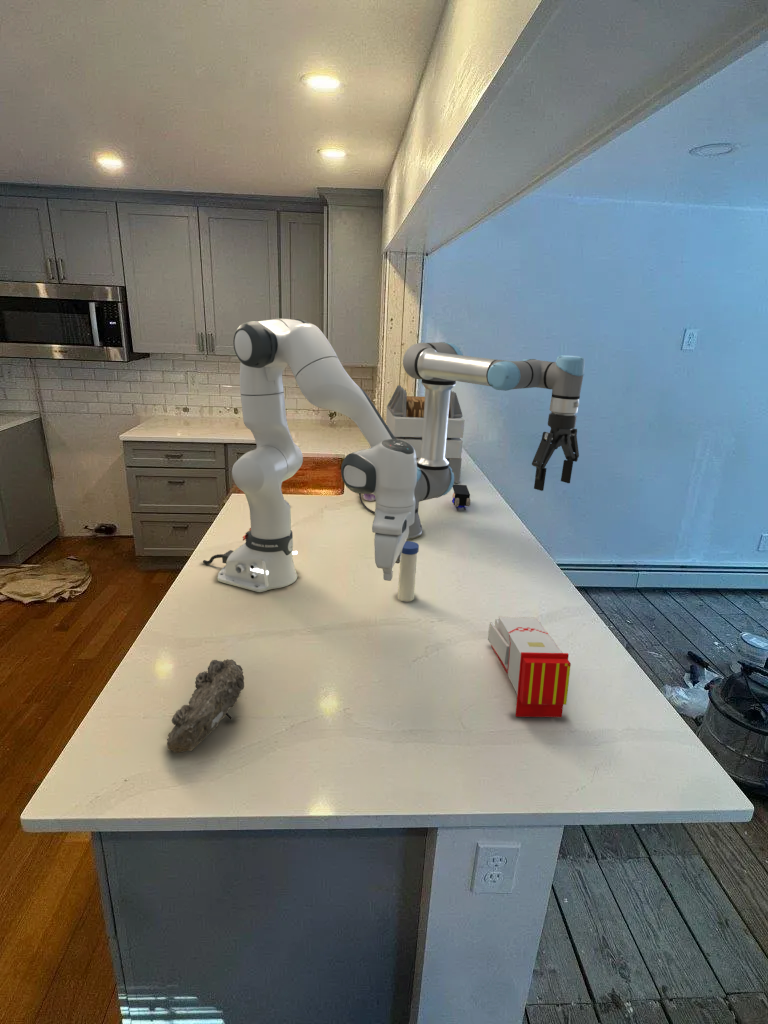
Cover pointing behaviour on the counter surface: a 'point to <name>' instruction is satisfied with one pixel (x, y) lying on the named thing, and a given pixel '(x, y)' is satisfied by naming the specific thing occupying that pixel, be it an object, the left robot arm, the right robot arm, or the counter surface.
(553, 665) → the toy
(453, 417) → the grey slatted crate
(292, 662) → the counter surface
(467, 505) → the figurine character
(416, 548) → the lid
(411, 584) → the bottle
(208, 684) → the fossil
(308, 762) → the counter surface
